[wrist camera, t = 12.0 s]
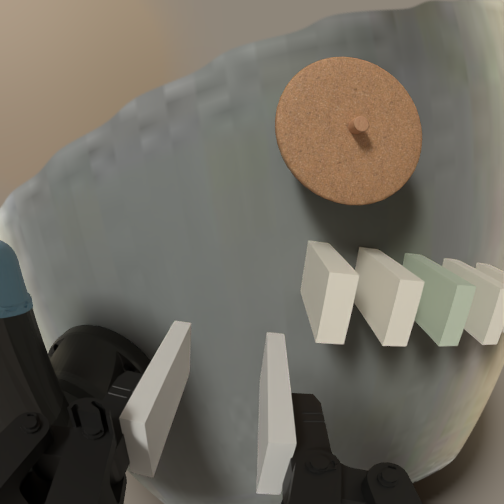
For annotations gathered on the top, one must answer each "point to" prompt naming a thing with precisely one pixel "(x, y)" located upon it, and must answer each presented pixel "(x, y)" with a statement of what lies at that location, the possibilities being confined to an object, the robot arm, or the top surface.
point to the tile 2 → (387, 296)
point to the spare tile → (440, 300)
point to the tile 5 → (491, 273)
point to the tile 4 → (481, 303)
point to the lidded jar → (348, 131)
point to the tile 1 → (328, 292)
